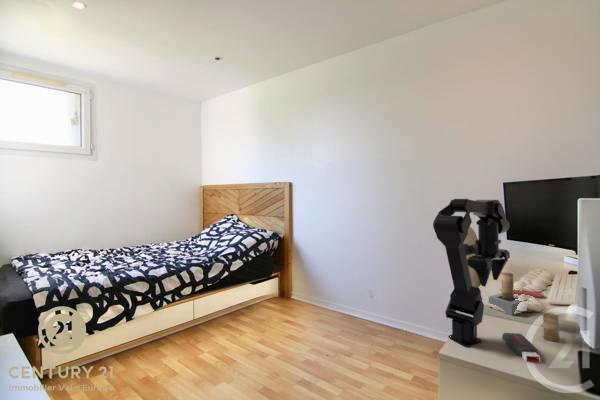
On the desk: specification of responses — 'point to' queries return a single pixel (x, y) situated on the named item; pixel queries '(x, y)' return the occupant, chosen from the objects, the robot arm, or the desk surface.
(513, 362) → the desk surface
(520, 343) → the usb drive
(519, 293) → the red screwdriver
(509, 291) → the tall peg
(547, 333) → the short peg
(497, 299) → the grey slotted box
